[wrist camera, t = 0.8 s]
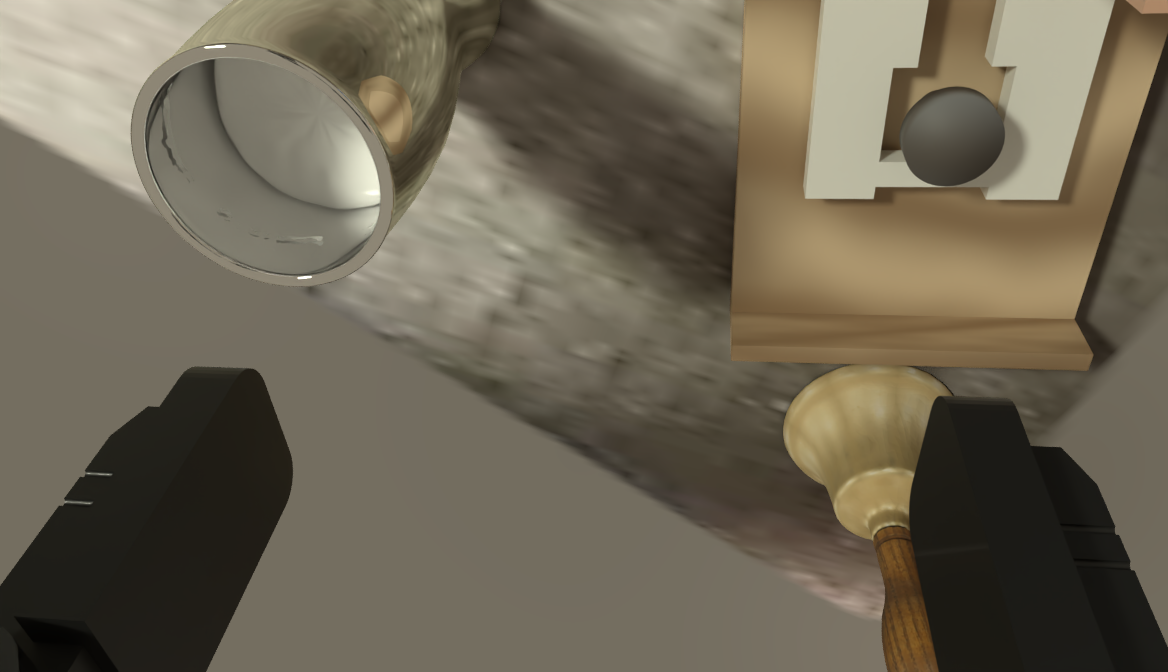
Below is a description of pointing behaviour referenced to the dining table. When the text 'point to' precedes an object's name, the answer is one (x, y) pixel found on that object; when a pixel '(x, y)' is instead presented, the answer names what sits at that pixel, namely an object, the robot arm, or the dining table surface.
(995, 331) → the boss board
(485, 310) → the dining table surface
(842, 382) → the hand bell
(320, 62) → the beer glass
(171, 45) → the dining table surface
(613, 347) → the dining table surface
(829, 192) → the panel
